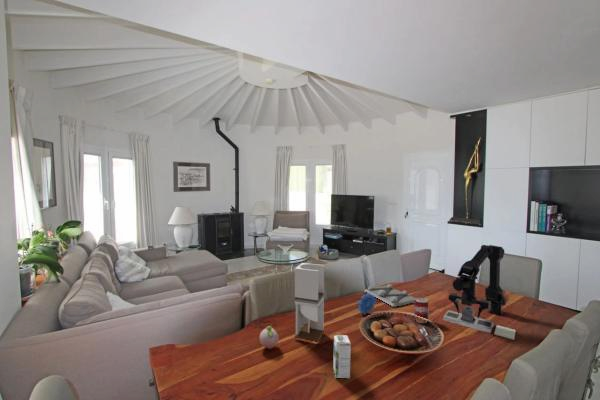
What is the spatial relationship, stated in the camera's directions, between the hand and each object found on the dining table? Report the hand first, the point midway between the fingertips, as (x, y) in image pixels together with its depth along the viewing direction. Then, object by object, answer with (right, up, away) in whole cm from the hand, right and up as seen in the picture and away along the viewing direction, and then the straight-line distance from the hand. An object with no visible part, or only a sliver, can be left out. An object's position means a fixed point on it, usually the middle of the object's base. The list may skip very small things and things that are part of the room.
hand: (468, 315), depth 156 cm
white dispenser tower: (-87, -5, -15) cm, 88 cm away
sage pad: (+13, -4, -10) cm, 17 cm away
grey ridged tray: (-31, -3, +36) cm, 48 cm away
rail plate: (0, -4, 0) cm, 4 cm away
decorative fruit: (-106, -5, -25) cm, 109 cm away
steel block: (0, -4, 0) cm, 4 cm away
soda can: (-25, -4, +1) cm, 25 cm away
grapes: (-53, -3, +12) cm, 54 cm away
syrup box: (-75, -6, -43) cm, 87 cm away
